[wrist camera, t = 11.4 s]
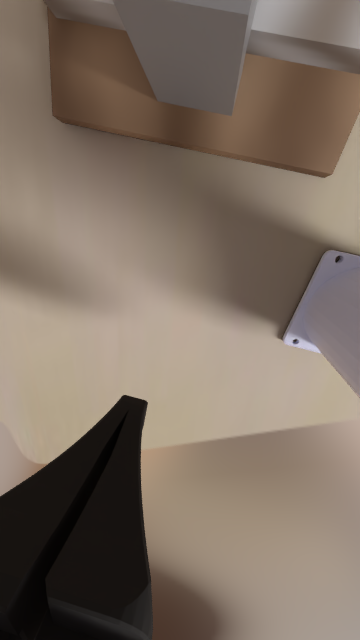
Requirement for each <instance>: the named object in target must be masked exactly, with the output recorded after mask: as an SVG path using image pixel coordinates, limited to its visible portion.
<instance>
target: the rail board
mask: <svg viewBox="0 0 360 640" xmlns="http://www.w3.org/2000/svg"><path fill="white" fill-rule="evenodd" d="M43 1H44V2H45V3H46V5H47V8H48V29H49V49H50V70H51V91H52V112H53V116H54V117H56V118H57V119H59V120H60V121H61V122H63V123H68V124H73V125H77V126H82V127H87V128H92V129H96V130H101V131H106V132H111V133H115V134H120V135H125V136H129V137H134V138H139V139H144V140H148V141H153V142H158V143H163V144H167V145H172V146H177V147H182V148H186V149H191V150H196V151H200V152H205V153H210V154H215V155H219V156H224V157H229V158H234V159H238V160H243V161H248V162H252V163H257V164H262V165H267V166H271V167H276V168H281V169H286V170H290V171H295V172H300V173H305V174H309V175H314V176H319V177H323V178H325V177H327V176H329V175H332V174H333V172H334V169H335V167H336V165H337V162H338V160H339V158H340V155H341V153H342V151H343V149H344V146H345V144H346V142H347V139H348V137H349V135H350V133H351V130H352V128H353V126H354V123H355V121H356V119H357V116H358V114H359V112H360V0H258V2H257V7H256V11H255V15H254V20H253V24H252V28H251V32H250V37H249V41H248V45H247V49H246V54H245V59H244V65H243V70H242V75H241V79H240V83H239V88H238V92H237V96H236V100H235V104H234V109H233V113H232V116H228V115H224V114H219V113H214V112H209V111H204V110H199V109H194V108H189V107H184V106H179V105H174V104H169V103H164V102H159V101H157V99H156V96H155V94H154V92H153V90H152V87H151V85H150V83H149V81H148V78H147V76H146V74H145V72H144V69H143V67H142V65H141V63H140V61H139V58H138V56H137V54H136V52H135V49H134V47H133V45H132V43H131V40H130V38H129V36H128V34H127V32H126V29H125V27H124V25H123V23H122V20H121V18H120V16H119V14H118V11H117V9H116V7H115V5H114V3H113V0H43Z"/></svg>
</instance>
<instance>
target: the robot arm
mask: <svg viewBox="0 0 360 640" xmlns="http://www.w3.org/2000/svg"><path fill="white" fill-rule="evenodd" d="M337 256H340V260H339V261H338V262H335V258H336V257H337ZM294 339H297V341H296V342H293V340H294ZM283 342H284V343H285V344H286V345H290V346H294V347H298V348H302V349H306V350H310V351H314V352H318V353H322V354H323V355H324V357H325V358H326V359H327V360H328V361H329V362H330V364H331V365H332V366H333V367H334V368H335V369H336V371H337V372H338V373H339V374H340V375H341V377H342V378H343V379H344V380H345V381H346V382H347V384H348V385H349V386H350V387H351V388H352V390H353V391H354V392H355V393H356V394H357V395H358V397H359V398H360V256H357V255H353V254H349V253H344V252H340V251H335V250H329V251H327V252H325V253H324V254H323V256H322V258H321V260H320V262H319V264H318V266H317V268H316V270H315V272H314V274H313V276H312V278H311V280H310V283H309V285H308V287H307V289H306V291H305V293H304V295H303V297H302V299H301V301H300V303H299V305H298V307H297V309H296V311H295V313H294V315H293V317H292V319H291V321H290V323H289V326H288V328H287V330H286V332H285V334H284V336H283ZM147 405H148V402H147V401H145V400H142V399H138V398H134V397H131V396H127V395H123V396H122V397H121V398H120V400H119V401H118V402H117V403H116V404H115V405H114V406H113V407H112V409H111V410H110V411H109V412H108V413H107V414H106V415H105V416H104V417H103V418H102V419H101V420H100V421H99V422H98V423H97V424H96V425H95V426H94V427H93V428H92V429H90V430H89V431H88V432H87V433H86V434H85V435H84V436H83V437H81V438H80V439H79V440H78V441H77V442H76V443H75V444H73V445H72V446H71V447H70V448H68V449H67V450H66V451H65V452H63V453H62V454H61V455H60V456H58V457H57V458H56V459H54V460H53V461H52V462H50V463H49V464H48V465H46V466H45V467H44V468H42V469H41V470H39V471H38V472H37V473H35V474H34V475H32V476H31V477H29V478H28V479H26V480H25V481H23V482H22V483H20V484H19V485H17V486H16V487H14V488H13V489H11V490H10V491H8V492H7V493H5V494H3V495H2V496H0V640H152V632H153V615H152V593H151V576H150V569H149V562H148V555H147V547H146V538H145V530H144V520H143V507H142V493H141V469H140V468H141V466H140V465H141V462H140V460H141V437H142V429H143V426H144V420H145V415H146V410H147Z"/></svg>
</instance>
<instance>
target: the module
mask: <svg viewBox="0 0 360 640" xmlns="http://www.w3.org/2000/svg"><path fill="white" fill-rule="evenodd" d="M257 2H258V0H113V3H114V5H115V7H116V9H117V11H118V14H119V16H120V18H121V20H122V23H123V25H124V27H125V29H126V32H127V34H128V36H129V38H130V40H131V43H132V45H133V47H134V49H135V52H136V54H137V56H138V58H139V61H140V63H141V65H142V67H143V69H144V72H145V74H146V76H147V78H148V81H149V83H150V85H151V87H152V90H153V92H154V94H155V96H156V99H157V101H159V102H164V103H169V104H174V105H179V106H184V107H189V108H194V109H199V110H204V111H209V112H214V113H219V114H224V115H228V116H232V113H233V109H234V104H235V100H236V96H237V92H238V88H239V83H240V79H241V75H242V70H243V65H244V59H245V54H246V49H247V45H248V41H249V37H250V32H251V28H252V24H253V20H254V15H255V11H256V7H257Z"/></svg>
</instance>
